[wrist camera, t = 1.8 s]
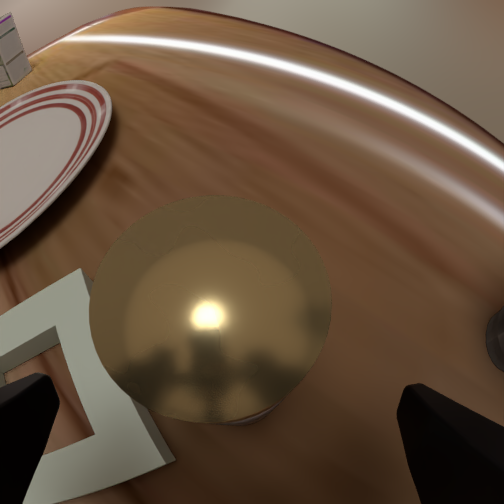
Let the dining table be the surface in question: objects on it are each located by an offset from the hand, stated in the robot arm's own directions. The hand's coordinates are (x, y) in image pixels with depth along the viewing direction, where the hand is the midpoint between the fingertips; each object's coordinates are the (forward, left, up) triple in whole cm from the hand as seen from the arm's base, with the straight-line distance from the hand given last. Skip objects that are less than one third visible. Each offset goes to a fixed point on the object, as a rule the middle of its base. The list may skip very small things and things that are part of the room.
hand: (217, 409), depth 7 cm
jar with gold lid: (+2, -1, -10) cm, 10 cm away
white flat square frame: (+6, +10, -9) cm, 15 cm away
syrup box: (+65, +12, -10) cm, 66 cm away
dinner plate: (+31, +11, -10) cm, 34 cm away
